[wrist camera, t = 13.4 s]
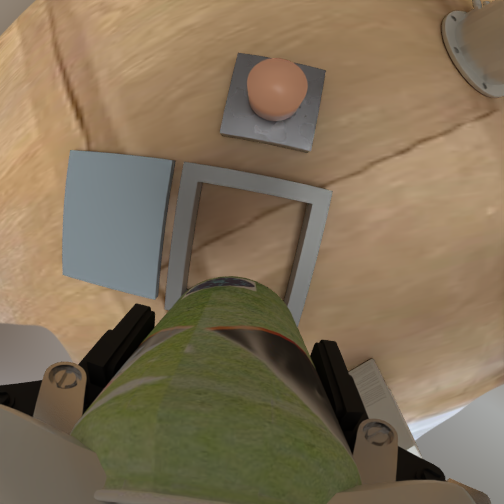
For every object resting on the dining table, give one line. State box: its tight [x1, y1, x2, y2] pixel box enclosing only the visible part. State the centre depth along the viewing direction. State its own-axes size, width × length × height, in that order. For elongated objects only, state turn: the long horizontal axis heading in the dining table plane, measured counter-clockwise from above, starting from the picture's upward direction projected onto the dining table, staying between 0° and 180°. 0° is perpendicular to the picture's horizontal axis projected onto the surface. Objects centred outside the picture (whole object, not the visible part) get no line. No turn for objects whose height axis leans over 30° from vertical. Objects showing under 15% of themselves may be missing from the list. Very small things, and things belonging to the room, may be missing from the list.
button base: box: [220, 53, 326, 153], centre depth 24 cm, size 8×8×2 cm
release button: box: [247, 58, 308, 121], centre depth 20 cm, size 4×4×4 cm
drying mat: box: [62, 150, 175, 300], centre depth 27 cm, size 14×12×1 cm
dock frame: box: [165, 162, 333, 328], centre depth 27 cm, size 14×13×2 cm
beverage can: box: [70, 276, 362, 504], centre depth 8 cm, size 6×7×12 cm
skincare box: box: [348, 359, 423, 459], centre depth 25 cm, size 8×6×15 cm
